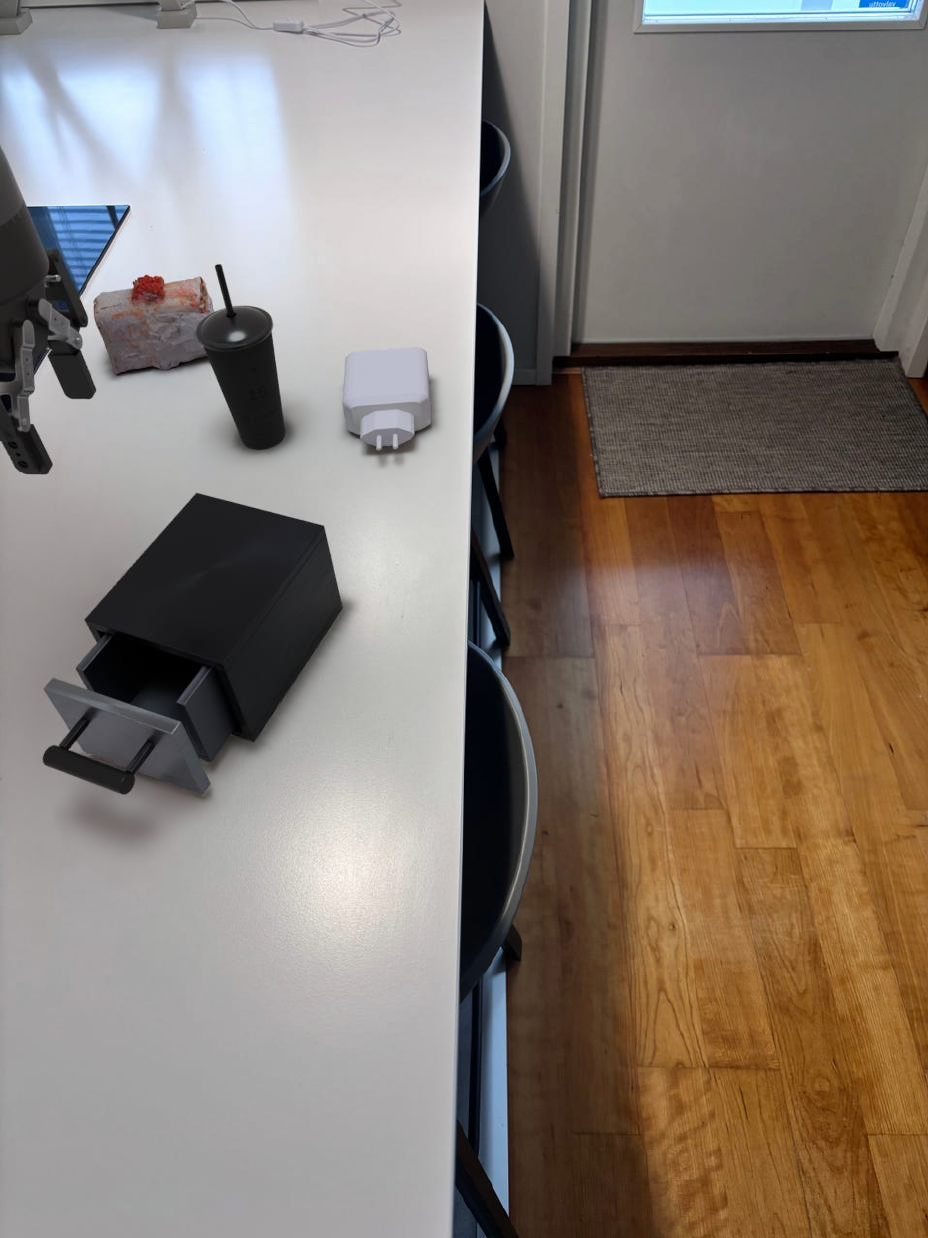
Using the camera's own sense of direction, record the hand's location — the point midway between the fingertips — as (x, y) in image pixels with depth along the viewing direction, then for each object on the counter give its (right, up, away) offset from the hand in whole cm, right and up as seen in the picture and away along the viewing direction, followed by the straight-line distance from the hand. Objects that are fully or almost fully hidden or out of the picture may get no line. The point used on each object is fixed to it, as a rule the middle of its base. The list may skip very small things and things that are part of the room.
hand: (61, 432), depth 68 cm
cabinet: (+9, -16, +17) cm, 25 cm away
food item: (-8, +19, +49) cm, 53 cm away
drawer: (+5, -22, +11) cm, 25 cm away
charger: (+20, +8, +37) cm, 43 cm away
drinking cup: (+7, +7, +37) cm, 39 cm away
